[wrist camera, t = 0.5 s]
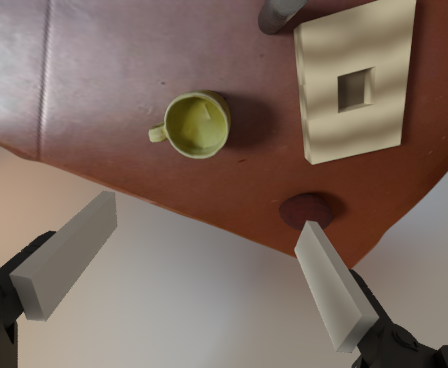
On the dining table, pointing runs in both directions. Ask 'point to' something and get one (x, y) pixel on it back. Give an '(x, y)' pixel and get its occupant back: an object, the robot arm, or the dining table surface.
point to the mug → (195, 124)
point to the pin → (277, 14)
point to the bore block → (354, 78)
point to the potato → (305, 211)
